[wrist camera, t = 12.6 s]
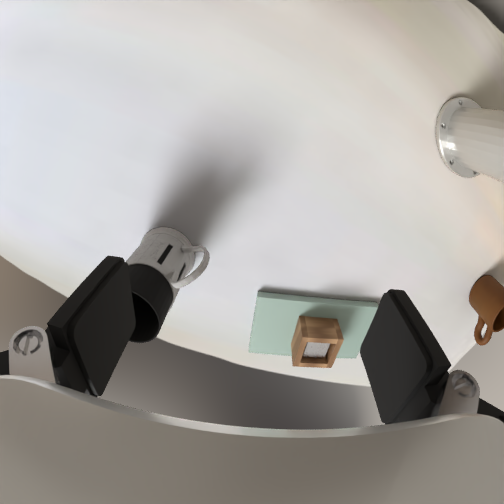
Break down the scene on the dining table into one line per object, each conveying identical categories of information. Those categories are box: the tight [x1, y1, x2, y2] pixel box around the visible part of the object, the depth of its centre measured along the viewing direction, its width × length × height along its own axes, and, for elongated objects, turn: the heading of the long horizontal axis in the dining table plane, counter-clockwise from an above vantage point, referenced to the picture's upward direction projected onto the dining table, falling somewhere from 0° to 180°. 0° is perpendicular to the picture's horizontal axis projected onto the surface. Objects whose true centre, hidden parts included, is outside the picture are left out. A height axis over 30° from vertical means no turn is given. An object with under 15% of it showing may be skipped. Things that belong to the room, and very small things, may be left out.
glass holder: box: [126, 227, 210, 343], centre depth 33 cm, size 9×14×15 cm, turn 120°
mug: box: [469, 275, 504, 345], centre depth 39 cm, size 12×8×9 cm, turn 168°
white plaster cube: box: [303, 342, 330, 357], centre depth 43 cm, size 4×4×4 cm
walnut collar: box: [291, 316, 344, 368], centre depth 42 cm, size 6×6×5 cm
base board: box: [249, 291, 378, 358], centre depth 45 cm, size 20×12×2 cm, turn 83°
